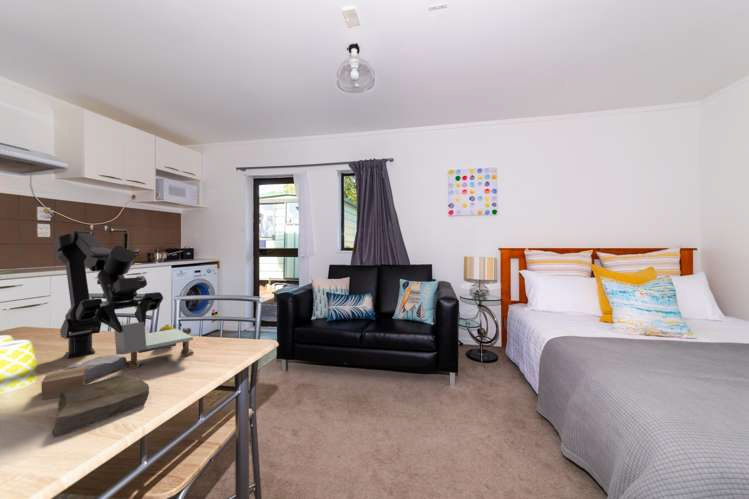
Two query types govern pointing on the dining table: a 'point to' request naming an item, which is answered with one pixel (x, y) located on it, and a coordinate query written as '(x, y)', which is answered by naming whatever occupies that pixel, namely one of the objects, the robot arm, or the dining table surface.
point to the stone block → (101, 366)
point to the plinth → (62, 381)
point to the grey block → (130, 338)
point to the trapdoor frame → (185, 351)
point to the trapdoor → (164, 339)
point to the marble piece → (98, 402)
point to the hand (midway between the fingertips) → (132, 329)
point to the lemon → (166, 328)
